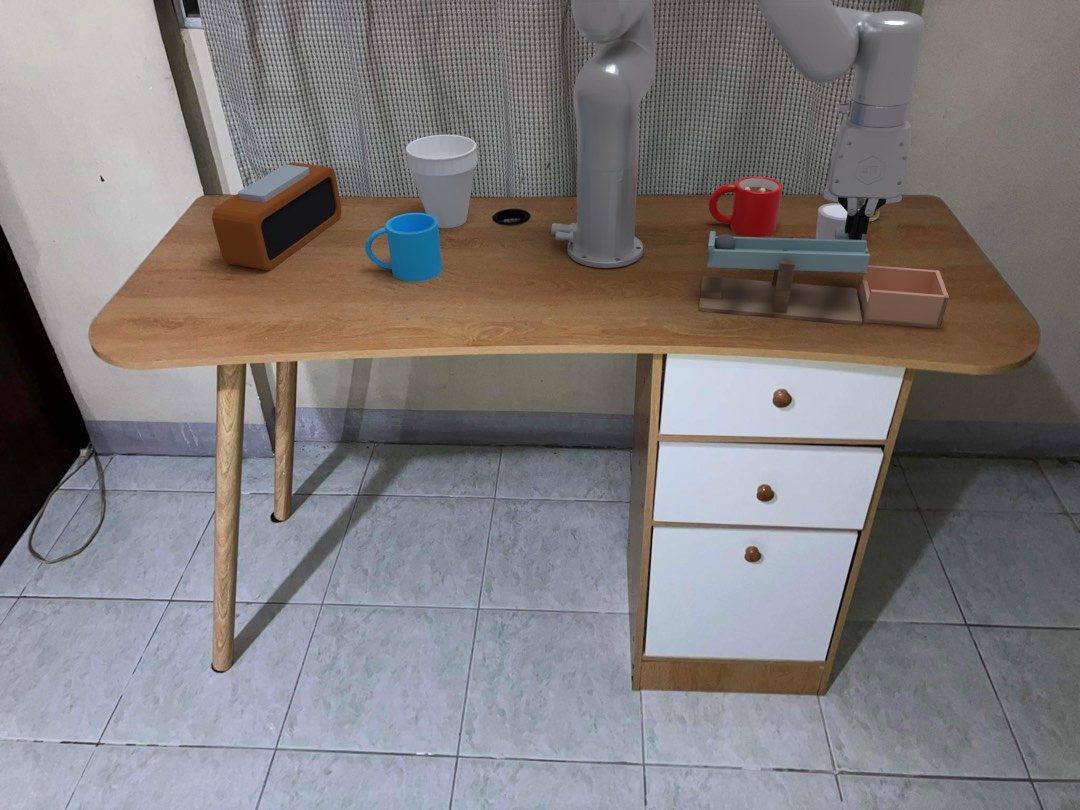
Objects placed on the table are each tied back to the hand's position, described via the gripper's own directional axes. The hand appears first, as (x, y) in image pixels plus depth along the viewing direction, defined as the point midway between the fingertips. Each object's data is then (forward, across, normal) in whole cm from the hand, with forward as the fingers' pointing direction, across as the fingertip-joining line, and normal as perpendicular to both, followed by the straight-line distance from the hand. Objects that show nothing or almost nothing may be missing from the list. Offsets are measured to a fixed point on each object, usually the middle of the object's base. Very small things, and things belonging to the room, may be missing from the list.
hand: (854, 237), depth 123 cm
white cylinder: (+8, -1, +12) cm, 15 cm away
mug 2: (+8, -16, +19) cm, 26 cm away
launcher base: (+8, -10, -7) cm, 14 cm away
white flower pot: (+6, -68, +13) cm, 70 cm away
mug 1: (+6, -69, -7) cm, 70 cm away
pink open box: (+8, +7, -7) cm, 13 cm away
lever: (+1, -10, -3) cm, 10 cm away
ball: (-1, -19, -7) cm, 20 cm away
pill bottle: (+8, +5, +27) cm, 29 cm away
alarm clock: (+6, -94, 0) cm, 94 cm away
